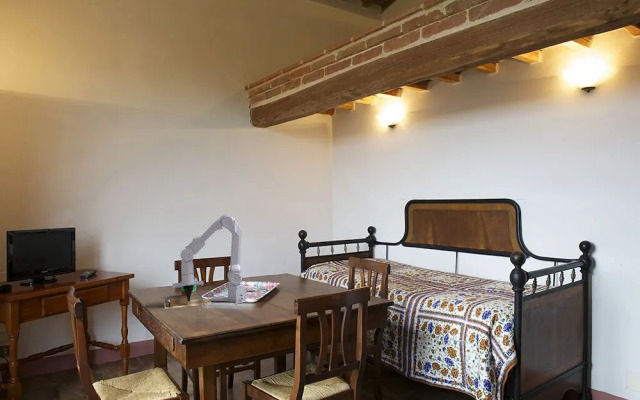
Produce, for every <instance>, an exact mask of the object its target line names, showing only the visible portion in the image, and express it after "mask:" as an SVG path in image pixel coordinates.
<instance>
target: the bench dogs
mask: <svg viewBox="0 0 640 400" xmlns="http://www.w3.org/2000/svg"><path fill="white" fill-rule="evenodd" d="M169 298H170V297H169V296H166V297H165V298H164V303H165V305H166V307H170V299H169Z"/></svg>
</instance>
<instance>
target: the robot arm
mask: <svg viewBox="0 0 640 400" xmlns="http://www.w3.org/2000/svg"><path fill="white" fill-rule="evenodd" d="M223 228H225V229H226V230H228V231H229V232H230V233H231V242H230V243H231V247H230V248H231V249H230V266H229V270H228V272H227V275H226V277H227V279H228V282H227V299H228V301H231V302H232V303H233V304H234V305H238V304H242V303H247V302H248V301H246V300H247V289H246V287H245V286H244V285H243V282H242V280H243V276H242V271H241V269H242V268H241V250H242V234H243V233H242V228H241V226H240V225H239V224H238V221H237V220H236V219H235V218H234V217H233V216H232V215H229V214H223V215H221V216H220V217H219V218H217V219H216V220H215V221H214V222H213V223H212V224H211V225H210V226H209V227H208V228H207V229H206V231H204V232H203V233H202V235H200V236H197V237H195V238H192V241H191V242H190V243H189V244H188V245H185V247H184V249H182V250H181V252H180V259H181V261H180V263H181V264H180V270H181V271H180V272H181V273H180V274H181V281H182V282H176V283H172V284H171V285H172V289H177V288H181V287H183V289H184V290H185V293H186V295H187V296H186V297H187V300H188V302H189V301H190V300H191V297H192V296H191V293H192V291H193V288H194V287H193V286H196V287H197V286H204V281H203V280H197V281H194V277H195V275H194V274H195V273H194V272H195V271H194V263H193V261H194V260H193V259H194V256H195V255H197V254H198V253H199V252H200V251H201V250H202V249H203V248H204V247H205V245H206V241H207V240H209V238H210V237H212V236H213V234H215V233H216V232H217V231H220V230H223ZM184 285H185V286H184Z"/></svg>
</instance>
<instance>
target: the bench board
mask: <svg viewBox="0 0 640 400" xmlns="http://www.w3.org/2000/svg"><path fill="white" fill-rule="evenodd" d="M211 304H212V305H213V302H212V301H211V299H210V297H209V298H208V297H207V298H199V299H198V298H197V299H190V301H189V302H188V305H182V306H174V307H166V305H165V302H164V303H163V306H164V309H165V310H171V309H178V308H186V307H195V306H202V305H204V306H205V305H211Z"/></svg>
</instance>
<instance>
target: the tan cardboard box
mask: <svg viewBox="0 0 640 400" xmlns="http://www.w3.org/2000/svg"><path fill="white" fill-rule="evenodd" d="M169 299H170V307H174V306H182V305H188V299H187V296H183V297H182V296H175V297H169Z"/></svg>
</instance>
